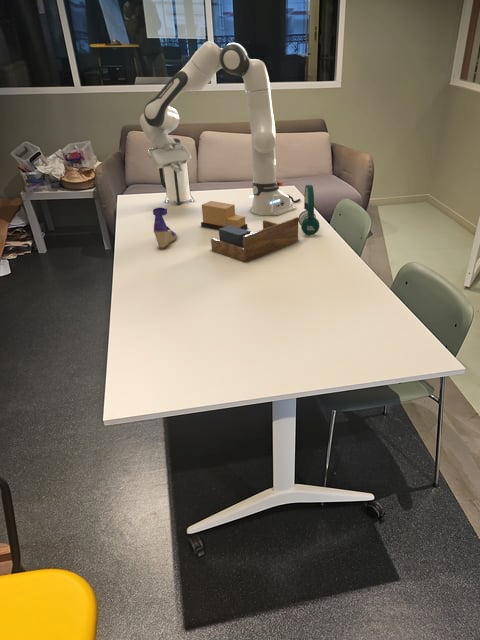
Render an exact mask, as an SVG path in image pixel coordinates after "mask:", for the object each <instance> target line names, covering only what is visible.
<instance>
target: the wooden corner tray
mask: <svg viewBox="0 0 480 640" xmlns="http://www.w3.org/2000/svg"><path fill="white" fill-rule="evenodd" d="M298 218H299V216H298V217H297V216H296V217H293V218H290V219H287V220H285V221H282V222H278V223H276V222H272V221H269V220H265V219H264V220H262V229H260V230H257V231H254V232H252V231H251V234H248V235H245V236H243V248H242V247H239V246H236V245H232V244H229V243H226V242H223V241H220V240H219V239H216V238H214V237H212V238H210V245H211V246H210V247H211V251H212V252H215V253H217V254H221V255H224V256H227V257H230V258H231V259H232V258H233V259H235V260H238V261H241V262H244V263H248V262H250V261H252V260H255V259H257V258H260V257H262V256H265V255H267V254H270V253H273V252H275V251H277V250H280V249H282V248H285V247H287V246H290V245H292V244H294V243H297V242H299V222H298Z"/></svg>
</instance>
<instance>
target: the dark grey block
mask: <svg viewBox="0 0 480 640" xmlns="http://www.w3.org/2000/svg"><path fill="white" fill-rule="evenodd" d="M251 232H252V231H251V230H248V229H246V230H244V229H241V228H238V227H234V226H231V225H229V226H226V227H223V228H220V229H219V230H218V236H219V237H218V238H219V239H218V240H220V241H223V242H226V243H229V244H232V245H236V246H239V247H242V248H243V236H245V235H248V234H251Z"/></svg>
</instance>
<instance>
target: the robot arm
mask: <svg viewBox="0 0 480 640" xmlns="http://www.w3.org/2000/svg"><path fill="white" fill-rule="evenodd" d="M221 69H223V71H224V72H226V73H228V75H229V74H230V75H232V76H233V75H234V76H237V77H241V78H242V80H243V84H244V92H245V98H246V99H245V100H246V106H247V114H248V120H249V129H250V135H251V156H252V157H251V158H252V178H253V179H252V180H253V181H252V193H253V194H252V195H249V198H250V199H252V204H251V209H250V212H251V213H252V214H255V215H259V216H279V215H282V214H285V213H288V212H291V211H294V210H296V207H295V206H294V205H293V204H291V202H292V203H298V202H300V201H301V198H298V199H296V200H295V199H294V197H293V196H291V195H290V194H289V193H286V192H284V191H283V190H282V189H281V188H280V187H283V185H284V182H283V181H280V180H279V181H278V180H277V159H276V157H277V156H276V145H277V133H276V132H277V131H276V125H275V117H274V110H273V102H272V93H271V84H270V83H271V82H270V77H269V74H268V68H267V67H266V64H265V62H264V61H263V60H260V59H257V58H253V59H252V58H250V57H249V54H248V51H247V50H246V48H245V47H244V45H242V44H240V43H237V42H229V43H228V44H226V45H225V46H223V47H219V46H218V44H216V42H213V41H209V40H207V41H205V42H203V44H202V45H201V46H199V48H197V50H196V51H195V52H194V54H193V55H192V56H191V57H190V59H189V60H188V62H187V63H186V64H185V65H184V66H183V67H182V68H181V70H179V71H178V72H176V73H175V74H174V75H173V76H172V77H171V78H170V79H169V81H167V82H166V84H165V85H164V87H162V89H161V90H160V91H159V92H158V94H156V96H155V97H153V98H152V99H150V100H148V101H147V102H146V103H145V106H144V108H143V113H142V114H141V116H140V118H139V124H140V127H141V130H142V131H143V133H144V135H145V137H146V138H147V140H149V141H150V144H151V146H152V148H148V149H147V151H146V153H147V155H148V157H149V158H150V161H151V163H152V165H153V167H154V168H155V169H157V170H159V168H164V167H169V166H170V167H171V168H172V169H173V170H175V171H176V173H181V172H183V169H182V168H181V164H183V163H189V162H190V161H191V160H192V154H191V153H190V151H189V149H188V148H187V146H186V145H185V144H183V141H182V139H180V138H176V137H172V136H169V134H171V133H173V131H175V130H176V129H177V128H178V127H179V125H180V119H181V118H180V114H179V112H178V111H177V109H175V108H173V107H172V106H171V105H172V104H173V103H174V101H175V100H176V99H177V98H178V97H179V96H180V95H181V94H183V93H185V92H198V91H201V90H203V89H204V88H205V87H207V85H208V84H209V83H210V82H211V80H212V79H213V78H214V76H215V75H216V73H217V72H218V71H220V70H221ZM175 165H176V166H177V167H178V168H177V167H176V166H175Z"/></svg>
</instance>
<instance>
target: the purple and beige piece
mask: <svg viewBox="0 0 480 640" xmlns="http://www.w3.org/2000/svg"><path fill="white" fill-rule="evenodd" d="M152 214H153V215H154V221H153V222H154V223H153V233H154V236H155V239H156V241H157V244H158V248H159V249H160V250H164V249H166V248H168V245H169V244H171V243H172V242H175V241H176V240H177V234H176V232H175V231H173V230H172V229H171V228H170V227H169V226H168V225H167V224H166V221H165V219H164V217H163V216H166V215H168V208H167V207H166V208H165V207H156V208H153V209H152Z"/></svg>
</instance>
